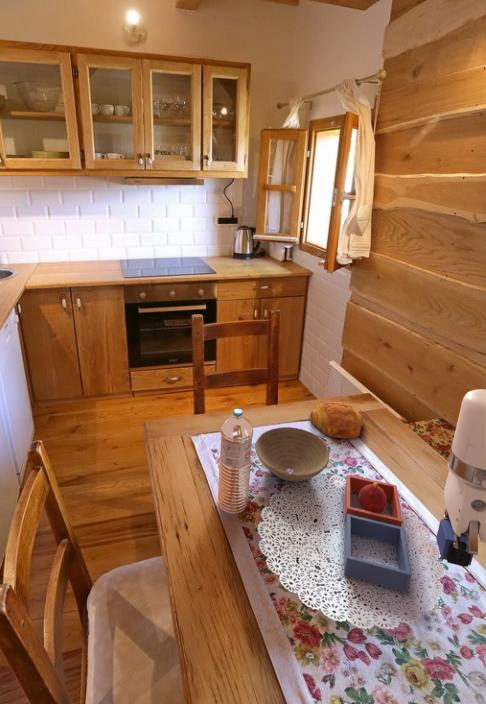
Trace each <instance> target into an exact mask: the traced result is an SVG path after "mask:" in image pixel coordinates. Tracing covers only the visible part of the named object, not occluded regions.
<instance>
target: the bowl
mask: <svg viewBox="0 0 486 704" xmlns="http://www.w3.org/2000/svg"><path fill="white" fill-rule="evenodd" d="M254 449H255V453H256V456H257V458H258V459H259V461H260V462H261V464H262V465H263V466H264V467H265V468H266V469H267V470H268V471H269V472H271V473H272V474H273V475H275V476H276V477H278V478H279V479H282V480H284V481H287V482H295V483H296V482H297V483H298V482H302V481H305V480H309V479H312V478H314V477H316V476H317V475H319V474H321V473H322V472H323V471H324V470H325V469H326V467H328V464H329V461H330V450H329V447H328V446H327V444H326V443H325V441H324V440H323V439H321V437H319V436H318V435H317V434H316V433H315V434H314V433H313V432H311V431H308V430H306V429H302V428H298V427H289V426H288V427H287V426H283V427H275V428H272V429H269V430H266V431H264V432H263V433H262V434H260V436H259V437H258V438H257V440H256V441H255V444H254ZM287 469H291V470H292V473H289V472H287V471H286V470H287Z"/></svg>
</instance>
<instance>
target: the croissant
mask: <svg viewBox="0 0 486 704" xmlns="http://www.w3.org/2000/svg"><path fill="white" fill-rule="evenodd" d="M309 415H310V418H311V423H312V425H314V428H317V429H318V430H321V431H322V433H324V435H325V436H327V437H330V438H335V439H355V438H357V437H359V436H361V435H360V434H361V430H362V427H363V424H364V418H363V415H362V414H361V413H360V412H359V411H358V410H357V409H355V408H354V407H353V406H352V405H351V404H348V403H344V402H340V401H334V402H333V401H327V402H321V403H318V405H316V406H315V407H314V408H313V410H311V412H310V414H309Z"/></svg>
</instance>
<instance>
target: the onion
mask: <svg viewBox="0 0 486 704" xmlns="http://www.w3.org/2000/svg"><path fill="white" fill-rule="evenodd" d="M358 502H359V505H360V507H361V508H362V510H365V511H369V512H374V513H378V514H382V513H383V512H384V511H385V509H386V507H387V504H388V500H387V498H386V495H385V493H384V491H383V490H382V489H381V488H380V487H379V486H378V483H376V482H375V483H373V484H370V485H367V486H365V487H363V488H362V489H361V491H360V493H359V494H358Z"/></svg>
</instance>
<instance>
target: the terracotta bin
mask: <svg viewBox="0 0 486 704" xmlns="http://www.w3.org/2000/svg"><path fill="white" fill-rule="evenodd" d="M375 482H376V483H378V486H379V487H380V488H381V489H382V490H383V491H384V493H385V495H386V498H387V501H389V502H390V509H391V515H392V516H390V515H387V514H382V513H379V514H378V513H374V512H369V511H365V510H364V509H361V508H356V507H353V506H351V493H354V494H358V495H359V493H360V491H361V489H362V488H363V487H365V486H367V485H370V484H373V483H375ZM399 497H400V496H399V491H398V485H396V484H392V483H388V482H383V481H380V480H374V479H369V478H365V477H360V476H356V475H351V474H346V479H345V484H344V510H343V511H344V513H343V515H344V517H343V518H344V521H343V523H344V524H345V523H346V517H347V514H350V515H354V516H358V517H362V518H366V519H370V520H374V521H379V522H383V523H387V524H391V525H395V526H399V527H402V525H403V516H402V509H401V504H400V498H399Z"/></svg>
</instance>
